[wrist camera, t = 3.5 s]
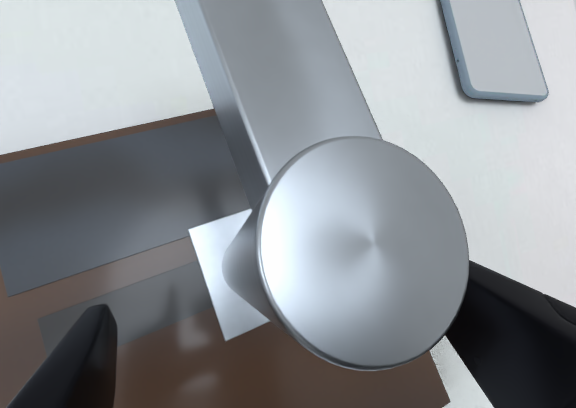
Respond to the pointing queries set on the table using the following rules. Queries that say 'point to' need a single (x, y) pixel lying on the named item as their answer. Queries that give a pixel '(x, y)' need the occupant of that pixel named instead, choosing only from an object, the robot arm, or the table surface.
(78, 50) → the table surface
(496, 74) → the smartphone
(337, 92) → the tap
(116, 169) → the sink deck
